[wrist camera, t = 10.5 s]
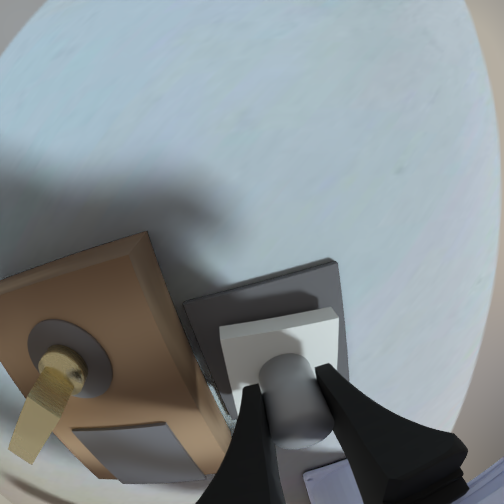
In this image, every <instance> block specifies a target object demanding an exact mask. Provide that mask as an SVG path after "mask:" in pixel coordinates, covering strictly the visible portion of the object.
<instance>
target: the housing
mask: <svg viewBox="0 0 504 504" xmlns="http://www.w3.org/2000/svg"><path fill="white" fill-rule="evenodd" d="M52 345H63V346H66V347H69V348H71V349H72V350H74V351H75V352H77V353H78V354H79V355H80V356H81V357H82V359H83V360H84V361H85V363H86V365H87V368H88V376H87V379H86V381H85V383H84V385H83V388H82V390H81V392H80V393H78V394H76V395H70V398H69V400H68V402H67V404H66V407H65V409H64V411H63V413H62V416H61V418H60V420H59V421H58V423H57V425H56V426H55V428H54V429H53V431H52V432H53V433H54V434H55V435H56V436H57V437H58V438H59V439H60V441H61V442H62V443H63V444H64V445H65V446H66V447H67V448H68V449H69V450H70V451H71V452H72V453H73V454H74V455H75V456H76V457H77V458H78V459H79V460H80V461H81V462H82V463H83V464H84V465H85V466H86V467H87V468H88V469H89V470H90V471H91V472H92V473H93V474H94V475H95V476H96V477H97V478H99V479H118V480H119V481H120V482H121V483H123V484H153V483H173V482H186V481H196V480H205V479H206V476H205V475H207V474H215V473H217V471H218V469H219V467H220V465H221V463H222V461H223V459H224V457H225V454H226V452H227V450H228V447H229V445H230V442H231V431H230V430H229V428H228V426H227V424H226V422H225V420H224V418H223V416H222V414H221V412H220V410H219V408H218V405H217V403H216V401H215V399H214V397H213V395H212V393H211V391H210V389H209V387H208V384H207V382H206V380H205V378H204V376H203V374H202V371H201V369H200V367H199V365H198V362H197V360H196V358H195V356H194V353H193V351H192V349H191V346H190V344H189V342H188V339H187V337H186V335H185V332H184V330H183V327H182V325H181V322H180V320H179V317H178V315H177V312H176V310H175V307H174V305H173V302H172V300H171V297H170V294H169V292H168V289H167V287H166V284H165V281H164V278H163V276H162V273H161V270H160V267H159V265H158V262H157V259H156V256H155V253H154V250H153V247H152V245H151V242H150V239H149V236H148V233H147V231H145V232H142V233H138V234H135V235H132V236H128V237H125V238H122V239H119V240H116V241H112V242H109V243H106V244H103V245H100V246H97V247H94V248H91V249H88V250H85V251H82V252H79V253H76V254H73V255H70V256H67V257H64V258H61V259H58V260H55V261H52V262H49V263H46V264H44V265H41V266H38V267H35V268H32V269H30V270H27V271H24V272H21V273H19V274H16V275H13V276H11V277H8V278H5V279H3V280H1V281H0V361H1V363H2V365H3V366H4V368H5V369H6V371H7V372H8V374H9V375H10V377H11V378H12V380H13V381H14V383H15V384H16V386H17V387H18V388H19V390H20V391H21V393H22V394H23V395H24V397H25V398H27V396H28V394H29V393H30V391H31V389H32V387H33V386H34V384H35V382H36V381H37V379H38V377H39V376H40V373H39V369H38V364H39V361H40V360H41V358H42V357H43V355H44V354H45V352H46V351H47V349H48V348H49V347H50V346H52Z"/></svg>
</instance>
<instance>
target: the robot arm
mask: <svg viewBox="0 0 504 504" xmlns="http://www.w3.org/2000/svg"><path fill="white" fill-rule="evenodd" d="M315 373H316V380H317V382H318V384H319V387H320V389H321V391H322V393H323V396H324V398H325V400H326V403H327V405H328V407H329V409H330V412H331V414H332V416H333V419H334V428H333V431H334V433H335V435H336V437H337V439H338V441H339V443H340V445H341V447H342V449H343V451H344V453H345V455H346V457H347V459H346V460H343V461H340V462H337V463H334V464H331V465H328V466H325V467H321V468H318V469H315V470H311V471H308V472H306V473H304V474H303V478H304V482H305V485H306V489H307V492H308V495H309V499H310V502H311V504H504V457H502V458H501V459H500V460H499V461H497V462H496V463H495V464H493V465H492V466H491V467H489V468H488V469H487V470H485V471H484V472H482V473H481V474H480V475H478V476H477V477H476V478H474V479H472V480H471V481H469V482H468V483H466V482H465V480H464V479H463V477H462V476H463V471H462V470H461V468H460V466H461V465H462V463H463V461H464V460H465V458H466V456H467V453H468V449H467V447H466V446H465V445H464V444H463V442H462V441H461V440H460V439H459V438H458V437H457V436H456V435H455V434H454V433H449V432H444V431H440V430H436V429H432V428H429V427H426V426H423V425H420V424H418V423H415V422H413V421H410V420H408V419H405V418H403V417H401V416H399V415H397V414H395V413H393V412H391V411H389V410H388V409H386V408H384V407H382V406H381V405H379V404H378V403H376V402H375V401H373V400H372V399H370V398H369V397H367V396H366V395H365V394H363V393H362V392H361V391H359V390H358V389H357V388H356V387H354V386H353V385H352V384H351V383H350V382H348V381H347V380H346V379H345V378H344V377H343V376H342V375H341V374H340V373H339V372H338V371H337V370H336V369H335V368H334V367H333V366H332V365H331V364H330V363H326V364H323V365H320V366H317V367H315ZM195 504H286V503H285V499H284V495H283V491H282V487H281V483H280V478H279V473H278V465H277V457H276V449H275V444H274V443H273V441H272V438H271V433H270V429H269V424H268V420H267V415H266V409H265V405H264V400H263V396H262V392H261V389H260V386H259V383H257V384H253V385H249V386H245V387H244V388H243V389H242V399H241V406H240V411H239V415H238V419H237V423H236V427H235V430H234V433H233V436H232V439H231V442H230V445H229V447H228V450H227V452H226V454H225V457H224V459H223V461H222V463H221V465H220V467H219V469H218V471H217V473H216V474H215V476H214V478H213V480H212V481H211V483H210V484H209V486H208V487H207V489H206V490H205V492H204V493H203V494H202V496H201V497H200V499H199V500H198V501H197V502H196V503H195Z"/></svg>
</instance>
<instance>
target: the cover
mask: <svg viewBox="0 0 504 504" xmlns="http://www.w3.org/2000/svg"><path fill="white" fill-rule="evenodd" d="M219 329H220V341H221V346H222V351H223V355H224V359H225V364H226V368H227V373H228V377H229V381H230V385H231V389H232V394H233V398H234V402H235V406H236V410H237V414H238V415H239V411H240V406H241V399H242V389H243V388H244V387H245V386H249V385H253V384H257V383H259V386H260V389H261V392H262V396H263V400H264V405H265V409H266V415H267V420H268V424H269V429H270V433H271V438H272V441H273V443H274V444H275V445H277V446H278V447H281V448H284V449H301V448H306V447H309V446H312V445H314V444H316V443H318V442H320V441H322V440H323V439H325V438H326V437H327V436H328V435H329V434H330V433H331V431H332V430H333V428H334V419H333V416H332V414H331V412H330V409H329V407H328V405H327V403H326V400H325V398H324V396H323V393H322V391H321V389H320V387H319V384H318V382H317V380H316V373H315V367H317V366H320V365H323V364H326V363H330V364H331V365H332V366H333V367H334V368H335V369H336V370H337V358H338V333H339V317H338V316H337V314H336V313H335V312H334V310H333V309H332V307H327V308H322V309H317V310H312V311H307V312H302V313H297V314H291V315H286V316H281V317H275V318H269V319H263V320H258V321H252V322H245V323H239V324H233V325H226V326H220V327H219Z"/></svg>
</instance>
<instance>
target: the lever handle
mask: <svg viewBox="0 0 504 504" xmlns="http://www.w3.org/2000/svg"><path fill="white" fill-rule="evenodd" d="M38 369H39V373H40V376H39V377H38V379H37V381H36V382H35V384H34V386H33V387H32V389H31V391H30V393H29V394H28V396H27V398H26V401H25V403H24V406H23V408H22V411H21V414H20V416H19V419H18V422H17V424H16V427H15V430H14V433H13V436H12V439H11V441H10V444H9V448H8V450H10V451H11V452H13V453H14V454H16V455H17V456H19V457H20V458H22V459H23V460H25V461H26V462H28V463H30V464H31V465H32V464H33V462H34V460H35V459H36V457H37V455H38V454H39V452H40V450H41V449H42V447H43V445H44V444H45V442H46V441H47V439H48V437H49V436H50V434H51V433H52V431H53V429H54V428H55V426H56V425H57V423H58V421H59V420H60V418H61V416H62V413H63V411H64V409H65V407H66V404H67V402H68V400H69V398H70V395H76V394H78V393H80V392H81V390H82V388H83V385H84V383H85V381H86V379H87V376H88V368H87V365H86V363H85V361H84V360H83V359H82V357H81V356H80V355H79V354H78V353H77V352H75V351H74V350H72V349H71V348H69V347H66V346H63V345H52V346H50V347H49V348H48V349H47V351H46V352H45V354H44V355H43V357H42V358H41V360H40V361H39V364H38Z"/></svg>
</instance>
